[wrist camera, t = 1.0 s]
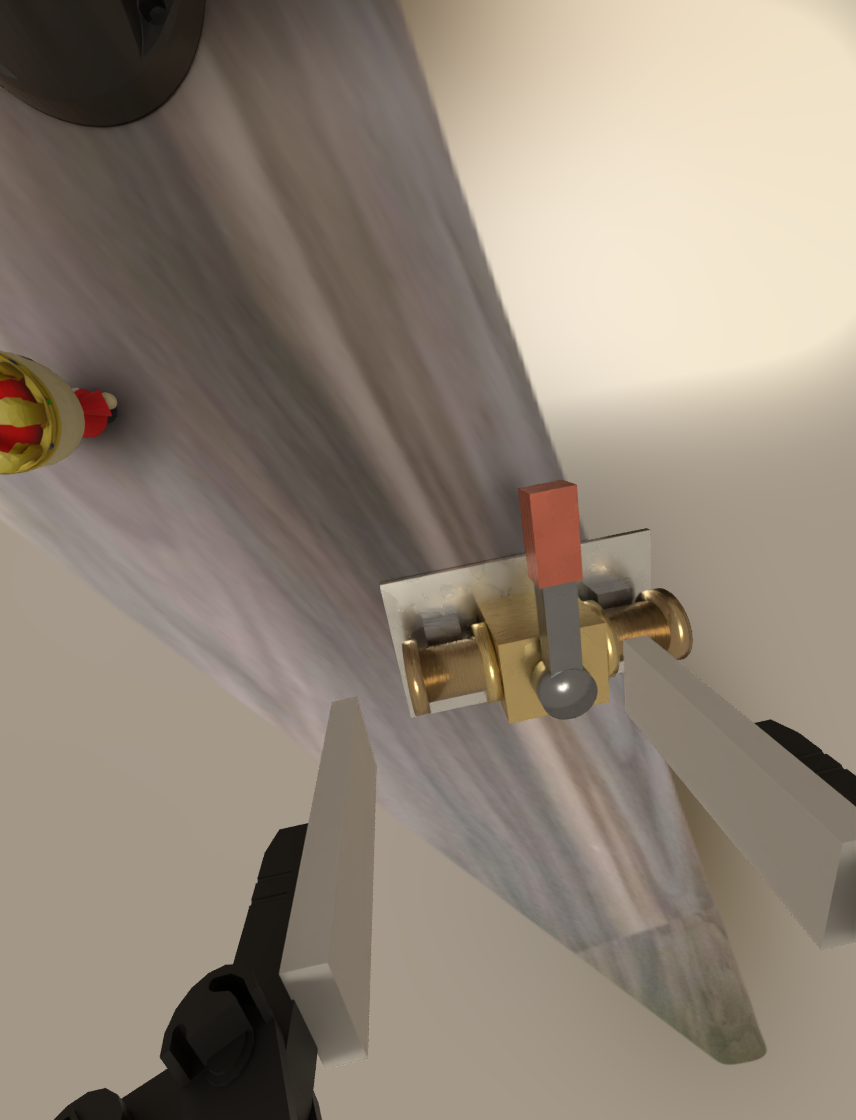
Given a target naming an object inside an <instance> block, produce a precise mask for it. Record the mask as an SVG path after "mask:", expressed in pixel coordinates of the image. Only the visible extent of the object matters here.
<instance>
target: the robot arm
mask: <svg viewBox="0 0 856 1120" xmlns="http://www.w3.org/2000/svg"><path fill="white" fill-rule="evenodd" d="M203 13H204V0H0V85H1V86H2V87H3V88H5V89H6V90H7V91H9V92H10V93H12V94H13V95H14V96H16V97H17V98H19V99H20V100H22V101H23V102H25V103H27V104H28V105H30V106H32V107H34V108H36V109H38V110H40V111H42V112H44V113H46V114H48V115H51V116H53V117H56V118H59V119H62V120H65V121H69V122H73V123H77V124H84V125H95V126H104V125H115V124H120V123H125V122H128V121H131V120H134V119H137V118H139V117H141V116H143V115H145V114H147V113H149V112H150V111H152V110H153V109H155V108H156V107H158V106H159V105H160V104H161V103H162V102H164V101H165V100H166V99H167V98H168V97H169V96H170V95H171V94H172V92H173V91H174V90H175V89H176V87H177V86H178V85H179V83H180V82H181V80H182V79H183V77H184V75H185V74H186V72H187V70H188V68H189V66H190V64H191V61H192V59H193V57H194V54H195V51H196V48H197V44H198V41H199V37H200V32H201V27H202V21H203ZM623 652H624V684H625V712H626V713H627V714H628V716H629V717H630V718H631V719H632V721H633V722H634V723H635V724H636V725H637V727H638V728H639V729H640V730H641V732H642V733H643V734H644V735H645V736H646V738H647V739H648V740H649V741H650V742H651V744H652V745H653V746H654V747H655V749H656V750H657V751H658V752H659V753H660V755H661V756H662V757H663V758H664V759H665V761H666V762H667V763H668V764H669V766H670V767H671V768H672V769H673V770H674V772H675V773H676V774H677V775H678V777H679V778H680V779H681V780H682V781H683V783H684V784H685V785H686V786H687V787H688V789H689V790H690V791H691V792H692V793H693V795H694V796H695V797H696V798H697V800H698V801H699V802H700V803H701V804H702V806H703V807H704V808H705V809H706V811H707V812H708V813H709V814H710V815H711V817H712V818H713V819H714V820H715V821H716V823H717V824H718V825H719V826H720V827H721V829H722V830H723V831H724V832H725V834H726V835H727V836H728V837H729V839H730V840H731V841H732V842H733V843H734V845H735V846H736V847H737V848H738V849H739V851H740V852H741V853H742V854H743V855H744V857H745V858H746V859H747V860H748V862H749V863H750V864H751V865H752V867H753V868H754V869H755V870H756V871H757V873H758V874H759V875H760V876H761V878H762V879H763V880H764V881H765V882H766V884H767V885H768V886H769V887H770V888H771V890H772V891H773V892H774V893H775V894H776V896H777V897H778V898H779V899H780V901H781V902H782V903H783V904H784V905H785V907H786V908H787V909H788V910H789V912H790V913H791V914H792V915H793V916H794V918H795V919H796V920H797V921H798V922H799V924H800V925H801V926H802V927H803V929H804V930H805V931H806V932H807V933H808V935H809V936H810V937H811V938H812V940H813V941H814V942H815V943H816V944H817V945H818V947H819V948H820V949H821V950H824V949H828V948H832V947H836V946H840V945H845V944H849V943H853V942H856V776H855V775H854V774H853V773H851V772H850V771H849V770H847V769H843V767H842V765H841V764H840V763H838V762H837V761H835V760H834V759H833V758H832V757H830V756H829V755H828V754H824V753H823V752H822V750H821V749H820V748H818V747H817V746H816V745H814V744H813V743H812V742H810V741H809V740H808V739H806V738H805V737H804V736H802V735H801V734H799V733H798V732H796V731H794V730H792V729H790V728H788V727H786V726H784V725H781V724H779V723H777V722H775V721H773V720H766V721H761V722H757V723H753V722H752V721H751V720H749V719H748V718H747V717H746V716H745V715H743V714H742V713H741V712H740V711H738V710H737V709H736V708H735V707H734V706H732V705H731V704H730V703H729V702H728V701H726V700H725V699H724V698H723V697H721V696H720V695H719V694H718V693H716V692H715V691H714V690H713V689H712V688H711V687H709V686H708V685H707V684H706V683H704V682H703V681H702V680H701V679H700V678H698V677H697V676H696V675H695V674H693V673H692V672H691V671H690V670H689V669H687V668H686V667H685V666H684V665H683V664H681V663H680V662H679V661H678V660H676V659H675V658H674V657H673V656H672V655H670V654H669V653H668V652H667V651H665V650H664V649H663V648H662V647H661V646H659V645H658V644H657V643H656V642H655V641H653V640H652V639H651V638H650V637H648V636H647V635H645V636H640V637H636V638H631V639H626V640H623ZM376 770H377V766H376V762H375V759H374V755H373V752H372V748H371V745H370V741H369V738H368V734H367V731H366V727H365V724H364V720H363V717H362V713H361V710H360V706H359V703H358V699H357V697H354V698H349V699H344V700H340V701H335V702H332V705H331V710H330V715H329V720H328V726H327V731H326V736H325V741H324V746H323V751H322V756H321V761H320V766H319V772H318V777H317V782H316V787H315V792H314V798H313V802H312V807H311V812H310V818H309V823H307V824H302V825H298V826H294V827H288V828H284V829H280V830H279V831H278V833H277V834H276V836H275V837H274V839H273V841H272V842H271V844H270V845H269V847H268V848H267V850H266V852H265V854H264V857H263V861H262V864H261V868H260V871H259V875H258V883H256V885H255V889H254V893H253V896H252V899H251V900H252V904H251V906H249V910H248V914H247V917H246V921H245V924H244V928H243V931H242V935H241V938H240V942H239V945H238V949H237V952H236V956H235V959H234V963H233V964H232V965H224V966H222V967H220V968H218V969H216V970H214V971H212V972H210V973H208V974H207V975H206V976H205V977H204V978H202V979H201V980H200V981H199V982H198V983H197V984H196V985H194V986H193V987H192V988H191V990H190V991H189V992H188V994H187V995H186V996H185V998H184V999H183V1000H182V1001H181V1003H180V1004H179V1006H178V1007H177V1008H176V1010H175V1012H174V1014H173V1016H172V1018H171V1021H170V1023H169V1025H168V1027H167V1029H166V1031H165V1033H164V1038H163V1044H162V1049H161V1053H160V1059H161V1060H162V1061H163V1063H164V1064H165V1066H166V1067H167V1068H168V1069H166V1070H165V1071H163V1072H162V1073H160V1074H159V1075H157V1076H155V1077H154V1078H152V1079H151V1080H149V1081H148V1082H146V1083H145V1084H143V1085H142V1086H140V1087H139V1088H137V1089H136V1090H134V1091H132V1092H131V1093H129V1094H128V1095H126V1096H125V1097H123V1098H122V1099H121V1098H120V1097H119V1096H118V1095H117V1094H116V1093H114V1092H112V1091H110V1090H108V1089H106V1088H104V1089H99V1090H95V1091H91V1092H87V1093H86V1094H84V1095H83V1096H82V1097H80V1098H78V1099H77V1100H75V1101H74V1102H73V1103H71V1104H70V1105H68V1106H67V1107H66V1108H65V1109H64V1110H63V1111H62V1112H61V1113H60V1114H59V1115H58V1116H57V1117H56V1118H55V1119H54V1120H322V1118H321V1113H320V1108H319V1103H318V1101H317V1098H316V1096H315V1093H314V1091H313V1087H314V1079H315V1070H316V1060H317V1053H318V1055H319V1057H320V1059H321V1062H322V1064H323V1066H324V1068H325V1069H327V1068H331V1067H335V1066H339V1065H344V1064H347V1063H352V1062H356V1061H360V1060H365V1059H368V1035H369V1001H370V967H371V936H372V935H371V934H372V901H373V870H374V869H373V868H374V836H375V835H374V834H375V803H376Z"/></svg>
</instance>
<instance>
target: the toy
mask: <svg viewBox="0 0 856 1120" xmlns="http://www.w3.org/2000/svg"><path fill="white" fill-rule="evenodd" d="M116 406H117V400H116V398H115V397H114V396H113V395H112V394H110V393H106V392H104V393H101V392H100V391H99V390H96V391H94V392H93V393H91V392H90V391H88V390H84V389H81V388H78V387H77V388H70V387H69V386H68V384H67V383H66V382H65V381H64V380H63V379H61V378H60V377H59V376H58V375H57V374H55V373H54V372H52V371H51V370H50V369H48V368H47V367H45V366H43V365H41V364H40V363H38V362H35V361H33V360H31V359H29V358H26V357H24V356H20V355H17V354H13V353H9V352H2V351H0V474H15V473H22V472H28V471H31V470H33V469H36V468H39V467H43V466H48V465H52V464H54V463H56V462H59V461H61V460H63V459H64V458H66V457H67V456H69V455H70V454H71V453H72V452H73V451H74V450H75V449H76V448H77V446H78V445H79V443H80V441H81V440H82V437H84V438H90V437H96V436H98V435H99V434H101V433H102V432H103V431H104V429H105V427H106V426H107V423H110V422H113V421H114V420H115V418H116V417H117V411H116V408H115V407H116Z"/></svg>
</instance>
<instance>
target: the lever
mask: <svg viewBox="0 0 856 1120" xmlns="http://www.w3.org/2000/svg"><path fill="white" fill-rule="evenodd" d="M518 491H519V500H520V509H521V517H522V526H523V535H524V544H525V553H526V562H527V571H528V577H529V578H530V579H531V580H532V581H533V582H534V589H535V598H536V608H537V617H538V626H539V636H540V645H541V654H542V661H540V662H539V663H538V664H537V666H536V667H535V669H534V670H533V673H532V676H531V684H532V687H533V689H534V691H535V693H536V695H537V697H538V699H539V700H540V702H541V704H542V706H543V708H544V709H545V711H546V712H547V713H548V714H549V715H551V716H552V717H554V718H557V719H572V718H576V717H578V716H580V715H582V714H584V713H585V712H587V711H588V710H589V709H590V708H591V707H592V705H593V704H594V702H595V700H596V698H597V693H598V688H597V684H596V681H595V680H594V678H593V677H592V676H591V675H590V673H589V672H588V671H587V670H586V668H585V667H584V666H583V663H582V649H581V634H580V620H579V606H578V592H577V581H579V580H583V572H582V557H581V541H580V526H579V510H578V496H577V485H576V484H573V483H570V482H567V481H564V480H558V481H553V482H548V483H543V484H538V485H533V486H528V487H523V488H518Z"/></svg>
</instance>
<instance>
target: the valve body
mask: <svg viewBox="0 0 856 1120" xmlns="http://www.w3.org/2000/svg"><path fill="white" fill-rule="evenodd" d="M581 557H582V572H583V580H579V581H577V592H578V606H579V620H580V634H581V649H582V663H583V666H584V667H585V668H586V670H587V671H588V672H589V673H590V675H591V676H592V677H593V678H594V680H595V681H596V684H597V688H598V693H597V698H596V700H595V702H594V704H593V705H597V704H602V703H606V702H609V682H608V678H610V677H614V676H615V675H616V674H617V673H622V672H624V652H623V640H626V639H631V638H636V637H640V636H645V635H647V636H648V637H650V638H651V639H652V640H653V641H655V642H656V643H657V644H658V645H659V646H661V647H662V648H663V649H664V650H665V651H667V652H668V653H669V654H670V655H672V656H673V657H674V658H675V659H676V660H681V659H684V658H686V657H687V656H688V655H689V654H690V652H691V649H692V642H693V639H692V630H691V625H690V622H689V619H688V617H687V614H686V612H685V610H684V608H683V607H682V605H681V604H680V602H679V601H678V600H677V598H676V597H675V596H674V595H673V594H672V593H670V592H669V591H667V590H665V589H662V588H657V589H651V530H650V529H647V528H645V529H640V530H635V531H631V532H626V533H621V534H616V535H611V536H606V537H602V538H596V539H591V540H587V541H582V542H581ZM380 589H381V593H382V598H383V602H384V606H385V610H386V614H387V619H388V623H389V627H390V631H391V635H392V640H393V644H394V648H395V652H396V656H397V660H398V665H399V669H400V673H401V677H402V681H403V686H404V690H405V694H406V698H407V702H408V707H409V711H410V715H411V718H413V717H418V716H422V715H427V714H432V713H436V712H441V711H446V710H450V709H455V708H459V707H464V706H469V705H473V704H478V703H483V702H488V703H489V704H490V703H494V702H499V701H500V702H501V704H502V707H503V709H504V712H505V714H506V717H507V719H508V722H509V724H510V723H514V722H519V721H523V720H528V719H533V718H537V717H542V716H546V715H549V714H548V713H547V712H546V711H545V709H544V708H543V706H542V704H541V702H540V700H539V699H538V697H537V695H536V693H535V691H534V689H533V687H532V684H531V676H532V673H533V670H534V669H535V667H536V666H537V664H538V663H539V662H540V661H542V654H541V645H540V636H539V626H538V617H537V608H536V598H535V589H534V582H533V581H532V580H531V579H530V578H529V577H528V571H527V562H526V553H523V554H518V555H513V556H508V557H504V558H499V559H494V560H489V561H484V562H479V563H474V564H469V565H464V566H460V567H455V568H450V569H445V570H440V571H435V572H430V573H425V574H421V575H416V576H411V577H406V578H401V579H396V580H391V581H386V582H381V583H380Z"/></svg>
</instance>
